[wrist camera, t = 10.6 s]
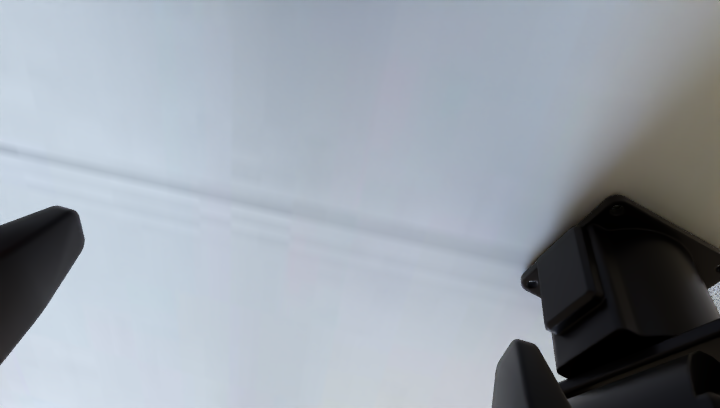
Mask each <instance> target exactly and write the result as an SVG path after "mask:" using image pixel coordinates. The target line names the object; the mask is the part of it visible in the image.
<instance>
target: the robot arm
mask: <svg viewBox="0 0 720 408" xmlns="http://www.w3.org/2000/svg"><path fill="white" fill-rule="evenodd" d="M617 205H620V206H621V207H620V208H619V209H612V207H614V206H617ZM84 242H85V239H84V234H83V230H82V226H81V222H80V218H79V215H78V213H77V212H76V211H74V210H72V209H68V208H65V207H61V206H52V207H49V208H46V209H44V210H41V211H38V212H35V213H33V214H30V215H27V216H25V217H22V218H19V219H16V220H14V221H11V222H8V223H6V224H3V225H0V365H1V364H2V362H3V361H4V360H5V359H6V357H7V356H8V355H9V354H10V352H11V351H12V350H13V349H14V347H15V346H16V345H17V344H18V342H19V341H20V340H21V339H22V337H23V336H24V335H25V334H26V332H27V331H28V330H29V329H30V327H31V326H32V325H33V324H34V322H35V321H36V320H37V318H38V317H39V316H40V314H41V313H42V312H43V310H44V309H45V307H46V306H47V304H48V303H49V301H50V300H51V298H52V297H53V295H54V294H55V292H56V290H57V289H58V287H59V286H60V284H61V283H62V281H63V280H64V278H65V276H66V275H67V273H68V272H69V270H70V269H71V267H72V266H73V264H74V262H75V261H76V259H77V258H78V256H79V255H80V253H81V251H82V249H83V247H84ZM719 265H720V250H719V249H717V248H715V247H714V246H712V245H710V244H708V243H706V242H705V241H703V240H701V239H699V238H698V237H696V236H694V235H692V234H690V233H689V232H687V231H685V230H683V229H682V228H680V227H678V226H676V225H674V224H673V223H671V222H669V221H667V220H666V219H664V218H662V217H660V216H658V215H657V214H655V213H653V212H651V211H650V210H648V209H646V208H644V207H642V206H641V205H639V204H637V203H635V202H634V201H632V200H630V199H628V198H626V197H625V196H622V195H613V196H610V197H608V198H607V199H605V200H604V201H603V202H602V203H601V204H600V205H599V206H598V207H597V208H595V209H594V210H593V211H592V212H591V213H590V214H589V215H588V216H587V217H586V218H584V219H583V220H582V221H581V222H580V223H579V224H578V225H577V226H574V227H572V228H571V229H569V230H568V231H567V232H566V233H565V234H564V235H563V236H562V237H561V238H560V239H558V240H557V241H556V242H555V243H554V244H553V245H552V246H551V247H550V248H549V249H547V250H546V251H545V252H544V253H543V254H542V255H541V256H540V257H539V258H538V259H537V262H536V263H535V264H534V265H532V266H531V267H530V268H529V269H528V270H527V271H526V272H525V273H524V274H523V275H522V276H521V285H522V287H523V289H525V290H526V291H528V292H530V293H532V294H534V295H536V296H538V297H540V298H541V300H542V308H543V316H544V324H545V328H546V330H548V331H550V332H552V339H553V346H554V354H555V361H556V368H557V373H558V374H559V375H561V376H563V377H565V378H567V379H566V380H564V381H561V382H559V383H558V382H557V380H556V378H555V377H554V375H553V373H552V371H551V370H550V368H549V366H548V364H547V362H546V361H545V359H544V357H543V355H542V354H541V352H540V350H539V348H538V347H537V346H536V345H535V344H533V343H530V342H526V341H523V340H519V339H515V340H513V341H512V342H511V344H510V345H509V347H508V348H507V350H506V351H505V353H504V354H503V356H502V357H501V359H500V360H499V362H498V365H497V368H496V373H495V383H494V392H493V401H492V408H720V314H719V312H718V310H717V308H716V306H715V304H714V302H713V300H712V298H711V296H710V294H709V292H708V290H707V289H708V288H710V287H712V286H713V285H715V284H716V283H718V282H719V281H720V266H719ZM529 281H535V282H529Z"/></svg>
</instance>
